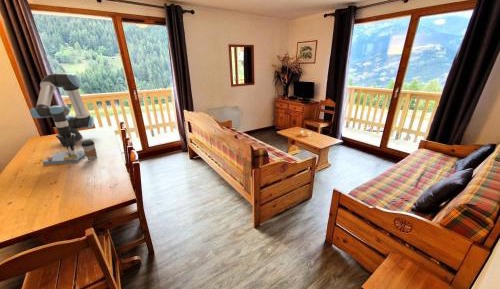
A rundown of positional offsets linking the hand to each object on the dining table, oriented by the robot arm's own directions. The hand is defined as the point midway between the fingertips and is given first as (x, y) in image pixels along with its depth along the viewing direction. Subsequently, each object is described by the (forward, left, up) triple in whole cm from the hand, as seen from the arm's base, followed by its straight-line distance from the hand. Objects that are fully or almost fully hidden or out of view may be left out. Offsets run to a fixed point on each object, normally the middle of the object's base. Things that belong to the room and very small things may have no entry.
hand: (72, 154), depth 169 cm
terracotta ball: (+6, -12, 0) cm, 14 cm away
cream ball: (-6, -6, 0) cm, 9 cm away
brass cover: (+7, +2, -1) cm, 7 cm away
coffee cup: (+4, +16, -4) cm, 16 cm away
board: (0, -4, -4) cm, 6 cm away
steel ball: (0, +3, -2) cm, 4 cm away
